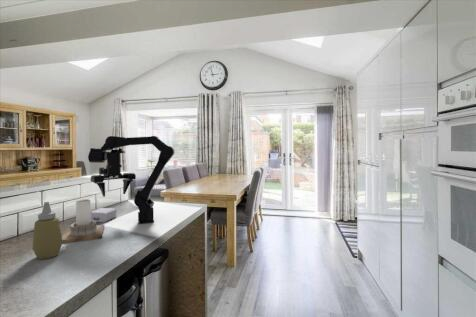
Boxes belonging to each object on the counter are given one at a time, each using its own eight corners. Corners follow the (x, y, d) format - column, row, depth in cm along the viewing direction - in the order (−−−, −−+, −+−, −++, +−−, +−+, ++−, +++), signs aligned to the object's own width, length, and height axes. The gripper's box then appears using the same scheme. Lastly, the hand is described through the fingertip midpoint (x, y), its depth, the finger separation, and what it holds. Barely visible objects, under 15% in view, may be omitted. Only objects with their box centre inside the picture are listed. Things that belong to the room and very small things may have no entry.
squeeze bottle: (43, 251, 88) (41, 199, 87) (67, 250, 89) (66, 199, 88) (26, 261, 80) (24, 205, 79) (53, 260, 81) (51, 204, 80)
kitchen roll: (93, 230, 106) (93, 199, 106) (85, 234, 101) (84, 202, 101) (82, 229, 107) (81, 199, 106) (73, 233, 102) (72, 201, 101)
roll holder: (104, 227, 113) (104, 217, 113) (101, 238, 101) (101, 226, 100) (67, 231, 108) (66, 220, 107) (59, 243, 95) (59, 231, 95)
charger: (122, 214, 136) (105, 222, 122) (106, 213, 137) (87, 222, 122) (122, 205, 136) (105, 212, 121) (106, 205, 137) (87, 212, 122)
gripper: (126, 161, 132) (126, 190, 133) (86, 162, 119) (87, 195, 119) (136, 162, 125) (136, 193, 125) (94, 163, 111) (94, 199, 112)
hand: (114, 195), depth 121 cm, fingers open, 9 cm apart
